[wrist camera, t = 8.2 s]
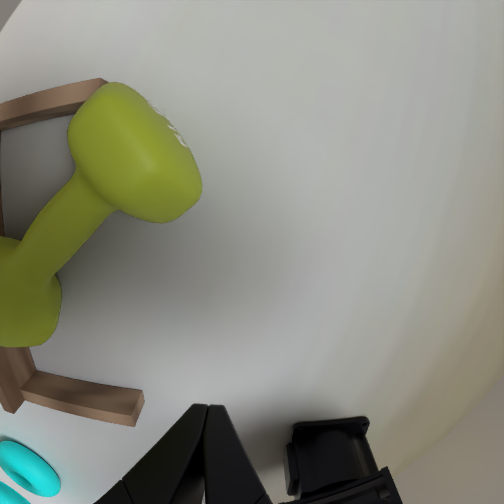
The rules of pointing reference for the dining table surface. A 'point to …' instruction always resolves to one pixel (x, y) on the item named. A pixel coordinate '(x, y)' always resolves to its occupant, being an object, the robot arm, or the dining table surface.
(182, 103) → the dining table surface
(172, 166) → the dumbbell
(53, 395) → the walnut corral
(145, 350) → the dining table surface
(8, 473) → the donuts
